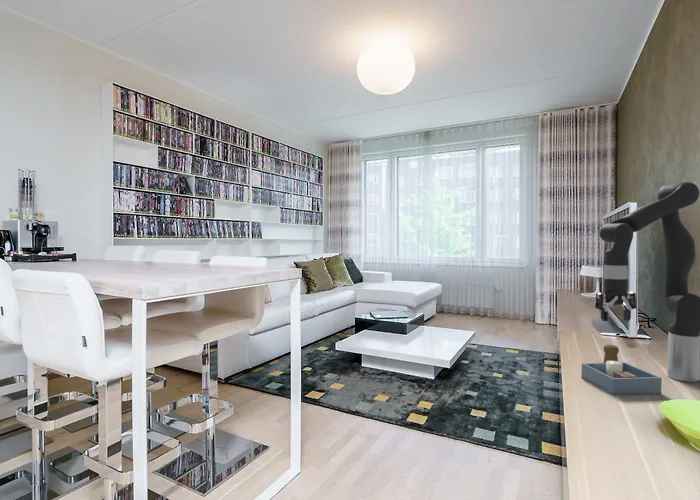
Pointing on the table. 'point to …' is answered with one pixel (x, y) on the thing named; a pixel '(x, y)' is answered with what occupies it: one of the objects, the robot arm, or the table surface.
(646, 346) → the table surface
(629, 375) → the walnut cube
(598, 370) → the tote
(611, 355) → the cork
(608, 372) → the ceramic canister
